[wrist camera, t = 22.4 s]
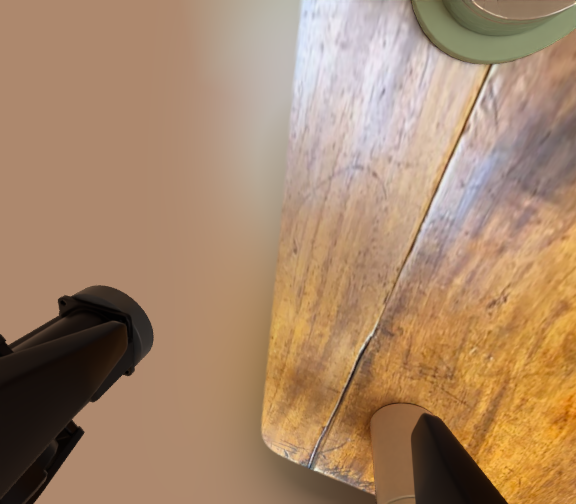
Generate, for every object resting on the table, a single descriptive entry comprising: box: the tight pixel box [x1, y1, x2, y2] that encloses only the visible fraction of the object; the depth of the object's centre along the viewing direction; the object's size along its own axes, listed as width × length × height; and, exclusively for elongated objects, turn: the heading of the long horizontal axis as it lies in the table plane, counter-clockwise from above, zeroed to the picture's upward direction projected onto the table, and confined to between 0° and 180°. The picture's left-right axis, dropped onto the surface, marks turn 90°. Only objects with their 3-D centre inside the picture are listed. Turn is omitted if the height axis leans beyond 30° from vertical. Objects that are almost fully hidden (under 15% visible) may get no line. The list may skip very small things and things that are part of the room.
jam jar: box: [370, 403, 433, 504], centre depth 20 cm, size 6×6×8 cm
